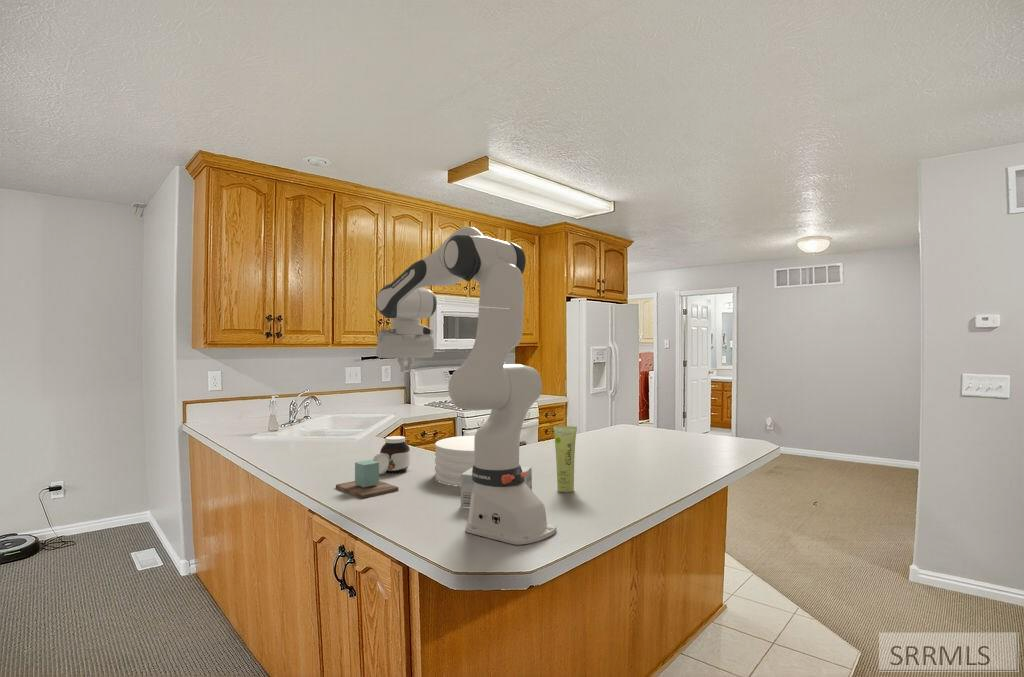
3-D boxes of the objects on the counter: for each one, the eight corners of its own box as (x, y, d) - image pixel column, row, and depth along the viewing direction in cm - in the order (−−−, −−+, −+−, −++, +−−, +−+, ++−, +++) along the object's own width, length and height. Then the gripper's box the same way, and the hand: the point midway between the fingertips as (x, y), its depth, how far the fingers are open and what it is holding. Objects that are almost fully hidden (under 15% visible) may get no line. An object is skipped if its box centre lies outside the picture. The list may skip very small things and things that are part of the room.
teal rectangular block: (379, 484, 158) (379, 462, 159) (363, 487, 155) (363, 465, 155) (370, 481, 162) (370, 459, 162) (354, 484, 158) (355, 462, 159)
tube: (559, 493, 154) (559, 427, 155) (552, 489, 159) (552, 424, 159) (576, 492, 156) (576, 426, 156) (570, 487, 161) (570, 424, 161)
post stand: (398, 490, 157) (398, 465, 157) (362, 498, 148) (362, 472, 149) (371, 480, 168) (371, 457, 168) (335, 487, 160) (336, 463, 160)
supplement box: (532, 499, 149) (532, 466, 149) (520, 513, 136) (520, 477, 136) (476, 494, 154) (477, 462, 154) (460, 508, 141) (460, 473, 141)
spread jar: (412, 468, 185) (412, 436, 186) (402, 476, 174) (402, 441, 174) (379, 468, 187) (379, 435, 187) (367, 475, 175) (368, 440, 175)
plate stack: (420, 484, 165) (420, 447, 166) (454, 465, 192) (454, 433, 192) (504, 491, 157) (504, 453, 158) (528, 470, 184) (528, 437, 184)
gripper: (383, 328, 162) (382, 373, 161) (436, 330, 176) (436, 371, 176) (372, 328, 166) (372, 372, 166) (425, 330, 181) (425, 370, 180)
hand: (405, 371), depth 171 cm, fingers closed
